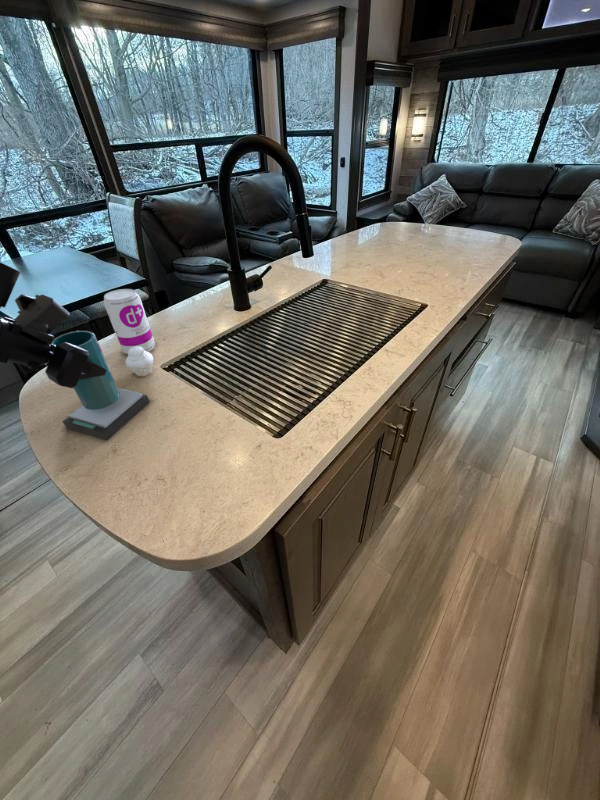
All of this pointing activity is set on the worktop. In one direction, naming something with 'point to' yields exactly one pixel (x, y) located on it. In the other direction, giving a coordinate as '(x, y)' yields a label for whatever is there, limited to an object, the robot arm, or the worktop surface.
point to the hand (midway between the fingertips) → (94, 366)
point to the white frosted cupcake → (139, 361)
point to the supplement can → (129, 319)
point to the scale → (107, 416)
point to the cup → (94, 389)
